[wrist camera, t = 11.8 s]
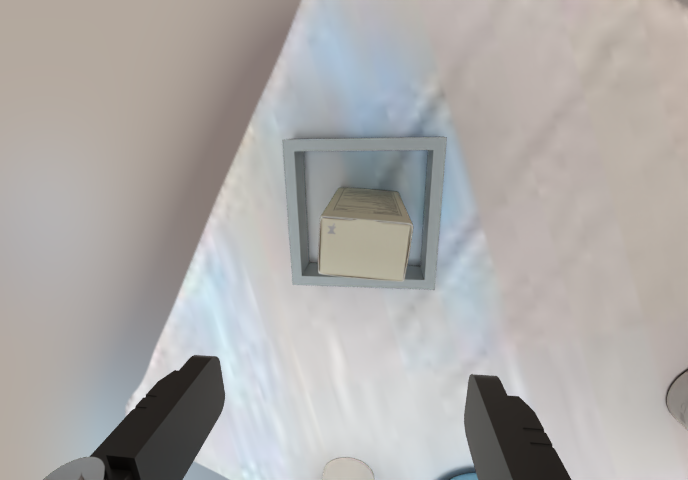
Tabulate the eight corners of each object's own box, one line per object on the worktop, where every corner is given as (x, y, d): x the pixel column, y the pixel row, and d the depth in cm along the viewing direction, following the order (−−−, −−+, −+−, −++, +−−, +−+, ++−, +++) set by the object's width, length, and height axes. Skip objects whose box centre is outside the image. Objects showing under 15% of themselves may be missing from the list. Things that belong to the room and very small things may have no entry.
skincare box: (335, 227, 34) (312, 275, 22) (338, 185, 33) (314, 214, 21) (397, 233, 33) (405, 285, 22) (402, 191, 32) (414, 223, 20)
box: (439, 136, 30) (446, 137, 27) (429, 274, 34) (434, 289, 31) (292, 139, 32) (282, 139, 28) (300, 270, 36) (292, 284, 33)
